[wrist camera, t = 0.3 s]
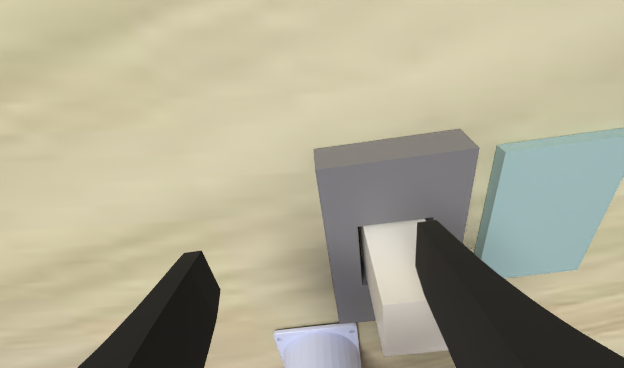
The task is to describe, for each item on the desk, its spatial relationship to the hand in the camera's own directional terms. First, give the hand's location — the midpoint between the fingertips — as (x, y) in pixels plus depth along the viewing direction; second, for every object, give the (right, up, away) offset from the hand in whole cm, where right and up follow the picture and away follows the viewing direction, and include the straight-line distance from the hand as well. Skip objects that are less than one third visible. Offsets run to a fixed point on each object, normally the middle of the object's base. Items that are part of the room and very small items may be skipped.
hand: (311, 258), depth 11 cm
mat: (+16, +1, +12) cm, 21 cm away
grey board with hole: (+6, -1, +13) cm, 14 cm away
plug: (+6, -1, +13) cm, 14 cm away
